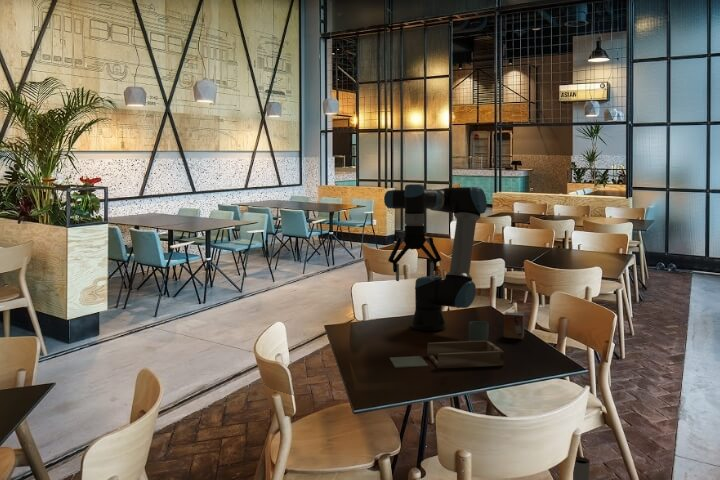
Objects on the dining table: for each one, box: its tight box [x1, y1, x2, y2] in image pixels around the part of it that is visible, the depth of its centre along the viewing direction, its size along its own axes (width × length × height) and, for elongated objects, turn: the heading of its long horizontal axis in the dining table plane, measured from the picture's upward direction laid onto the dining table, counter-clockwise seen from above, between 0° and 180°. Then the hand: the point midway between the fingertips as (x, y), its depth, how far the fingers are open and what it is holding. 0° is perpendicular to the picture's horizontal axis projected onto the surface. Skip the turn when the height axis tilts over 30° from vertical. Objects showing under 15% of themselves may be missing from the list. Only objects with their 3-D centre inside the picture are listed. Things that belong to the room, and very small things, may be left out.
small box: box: [503, 311, 526, 340], centre depth 252 cm, size 8×6×10 cm
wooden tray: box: [426, 339, 505, 369], centre depth 219 cm, size 17×24×5 cm
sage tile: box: [389, 355, 429, 369], centre depth 218 cm, size 12×12×1 cm
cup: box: [468, 320, 490, 341], centre depth 237 cm, size 8×8×10 cm
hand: (414, 280), depth 227 cm, fingers open, 13 cm apart
